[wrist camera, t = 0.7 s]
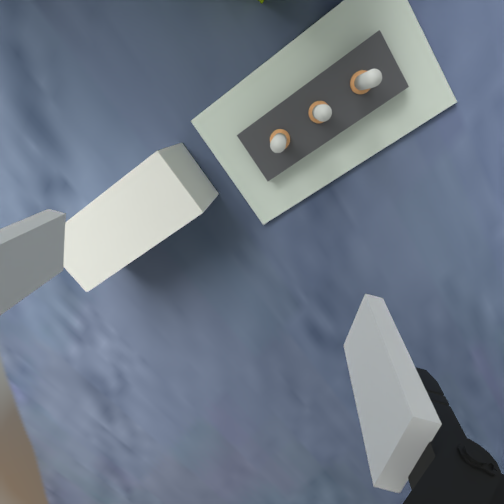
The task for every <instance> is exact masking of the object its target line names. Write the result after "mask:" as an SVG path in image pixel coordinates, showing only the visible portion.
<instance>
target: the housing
mask: <svg viewBox="0 0 504 504" xmlns="http://www.w3.org/2000/svg"><path fill="white" fill-rule="evenodd" d="M218 195H219V193H218V192H217V190H216V189H215V188H214V186H213V185H212V183H211V182H210V181H209V179H208V178H207V177H206V175H205V174H204V172H203V171H202V170H201V168H200V167H199V165H198V164H197V163H196V161H195V160H194V158H193V157H192V156H191V154H190V153H189V151H188V150H187V149H186V147H185V146H184V145H183V143H179V144H176V145H173V146H170V147H167V148H164V149H161V150H158V151H156V152H155V153H154V154H152V155H151V156H150V157H148V158H147V159H146V160H145V161H143V162H142V163H141V164H139V165H138V166H137V167H136V168H134V169H133V170H132V171H131V172H129V173H128V174H127V175H125V176H124V177H123V178H122V179H120V180H119V181H118V182H117V183H115V184H114V185H113V186H111V187H110V188H109V189H108V190H106V191H105V192H104V193H103V194H101V195H100V196H99V197H97V198H96V199H95V200H94V201H92V202H91V203H90V204H88V205H87V206H86V207H85V208H83V209H82V210H81V211H80V212H78V213H77V214H76V215H74V216H73V217H72V218H71V219H69V220H68V221H67V222H66V223H65V240H64V262H63V267H64V268H65V269H66V270H67V271H68V272H69V273H70V274H71V275H72V277H73V278H74V279H75V280H76V281H77V282H78V283H79V284H80V285H81V287H82V288H83V289H84V290H85V291H86V292H88V291H90V290H91V289H93V288H94V287H96V286H97V285H98V284H100V283H101V282H103V281H104V280H106V279H107V278H109V277H110V276H112V275H113V274H114V273H116V272H117V271H119V270H120V269H122V268H123V267H125V266H126V265H128V264H129V263H131V262H132V261H133V260H135V259H136V258H138V257H139V256H141V255H142V254H144V253H145V252H147V251H148V250H150V249H151V248H152V247H154V246H155V245H157V244H158V243H160V242H161V241H163V240H164V239H166V238H167V237H169V236H170V235H171V234H173V233H174V232H176V231H177V230H179V229H180V228H182V227H183V226H185V225H186V224H188V223H189V222H190V221H192V220H193V219H195V218H196V217H198V216H199V215H201V214H202V213H203V212H204V211H205V210H206V209H207V208H208V207H209V205H210V204H211V203H212V202H213V201H214V199H215V198H216V197H217V196H218Z"/></svg>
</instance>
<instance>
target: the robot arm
mask: <svg viewBox="0 0 504 504" xmlns="http://www.w3.org/2000/svg"><path fill="white" fill-rule="evenodd" d="M65 219H66V213H62V212H58V211H54V210H51V209H47V210H44V211H42V212H40V213H37V214H35V215H33V216H30V217H28V218H25V219H23V220H21V221H18V222H16V223H14V224H11V225H9V226H7V227H4V228H2V229H0V315H2V314H3V313H4V312H6V311H7V310H9V309H10V308H11V307H13V306H14V305H16V304H17V303H18V302H20V301H21V300H22V299H24V298H25V297H27V296H28V295H29V294H31V293H32V292H34V291H35V290H36V289H38V288H39V287H41V286H42V285H43V284H45V283H46V282H48V281H49V280H50V279H52V278H53V277H55V276H56V275H57V274H59V273H60V272H62V271H63V262H64V240H65ZM344 350H345V355H346V359H347V364H348V369H349V373H350V378H351V383H352V388H353V392H354V397H355V402H356V406H357V411H358V416H359V420H360V425H361V430H362V434H363V439H364V444H365V448H366V453H367V458H368V462H369V467H370V472H371V476H372V481H373V486H374V487H378V488H381V489H385V490H389V491H392V492H396V493H400V492H401V491H402V489H403V487H404V486H405V484H406V482H407V481H408V479H409V483H410V486H411V489H412V491H411V493H410V494H409V495H408V497H407V498H406V500H405V501H404V503H403V504H504V475H503V474H502V473H501V471H500V469H499V466H498V464H497V462H496V461H495V460H494V459H493V457H492V456H491V455H490V454H489V453H488V452H487V451H486V450H485V449H484V448H482V447H481V446H480V445H478V444H477V443H475V442H473V441H472V440H470V439H467V437H466V435H465V434H464V432H463V430H462V428H461V426H460V424H459V422H458V420H457V418H456V416H455V415H454V413H453V411H452V409H451V407H450V406H449V403H448V401H447V399H446V397H445V396H443V395H444V394H443V392H442V390H441V388H440V386H439V384H438V382H437V381H436V380H435V379H434V378H433V377H432V376H431V375H430V374H429V373H428V372H427V371H426V370H424V369H420V368H416V367H415V366H414V364H413V362H412V359H411V357H410V355H409V353H408V351H407V349H406V347H405V345H404V342H403V340H402V338H401V336H400V334H399V332H398V330H397V328H396V325H395V323H394V321H393V319H392V317H391V315H390V313H389V311H388V308H387V306H386V304H385V302H384V300H383V298H380V297H376V296H373V295H369V294H365V295H364V298H363V300H362V302H361V305H360V307H359V310H358V312H357V314H356V317H355V319H354V322H353V324H352V326H351V329H350V331H349V334H348V336H347V338H346V341H345V343H344Z"/></svg>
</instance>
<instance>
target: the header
mask: <svg viewBox="0 0 504 504" xmlns="http://www.w3.org/2000/svg"><path fill="white" fill-rule="evenodd" d="M456 102H457V101H456V99H455V97H454V95H453V92H452V90H451V88H450V86H449V84H448V82H447V80H446V78H445V76H444V74H443V72H442V70H441V68H440V66H439V64H438V62H437V60H436V58H435V56H434V53H433V51H432V49H431V47H430V45H429V43H428V41H427V39H426V37H425V35H424V33H423V31H422V29H421V27H420V25H419V23H418V21H417V19H416V17H415V14H414V12H413V10H412V8H411V6H410V4H409V2H408V0H344V1H342V2H341V3H340V4H339V5H337V6H336V7H335V8H334V9H332V10H331V11H330V12H328V13H327V14H326V15H325V16H323V17H322V18H321V19H320V20H318V21H317V22H316V23H314V24H313V25H312V26H311V27H309V28H308V29H307V30H306V31H304V32H303V33H302V34H301V35H299V36H298V37H297V38H295V39H294V40H293V41H292V42H290V43H289V44H288V45H287V46H285V47H284V48H283V49H281V50H280V51H279V52H278V53H276V54H275V55H274V56H273V57H271V58H270V59H269V60H268V61H266V62H265V63H264V64H262V65H261V66H260V67H259V68H257V69H256V70H255V71H254V72H252V73H251V74H250V75H248V76H247V77H246V78H245V79H243V80H242V81H241V82H240V83H238V84H237V85H236V86H235V87H233V88H232V89H231V90H229V91H228V92H227V93H226V94H224V95H223V96H222V97H221V98H219V99H218V100H217V101H215V102H214V103H213V104H212V105H210V106H209V107H208V108H207V109H205V110H204V111H203V112H202V113H200V114H199V115H198V116H196V117H195V118H194V119H193V120H191V122H192V124H193V125H194V127H195V128H196V129H197V131H198V132H199V134H200V135H201V137H202V138H203V139H204V141H205V142H206V144H207V145H208V147H209V148H210V149H211V151H212V152H213V154H214V155H215V157H216V158H217V159H218V161H219V162H220V164H221V165H222V167H223V168H224V169H225V171H226V172H227V174H228V175H229V177H230V178H231V179H232V181H233V182H234V184H235V185H236V187H237V188H238V189H239V191H240V192H241V194H242V195H243V197H244V198H245V199H246V201H247V202H248V204H249V205H250V207H251V208H252V209H253V211H254V212H255V214H256V215H257V217H258V218H259V219H260V221H261V222H262V224H263V225H264V224H265V223H267V222H269V221H270V220H272V219H273V218H275V217H277V216H278V215H280V214H281V213H283V212H284V211H286V210H288V209H289V208H291V207H292V206H294V205H295V204H297V203H299V202H300V201H302V200H303V199H305V198H307V197H308V196H310V195H311V194H313V193H314V192H316V191H318V190H319V189H321V188H322V187H324V186H325V185H327V184H329V183H330V182H332V181H333V180H335V179H336V178H338V177H340V176H341V175H343V174H344V173H346V172H348V171H349V170H351V169H352V168H354V167H355V166H357V165H359V164H360V163H362V162H363V161H365V160H366V159H368V158H370V157H371V156H373V155H374V154H376V153H377V152H379V151H381V150H382V149H384V148H385V147H387V146H389V145H390V144H392V143H393V142H395V141H396V140H398V139H400V138H401V137H403V136H404V135H406V134H407V133H409V132H411V131H412V130H414V129H415V128H417V127H418V126H420V125H422V124H423V123H425V122H426V121H428V120H430V119H431V118H433V117H434V116H436V115H437V114H439V113H441V112H442V111H444V110H445V109H447V108H448V107H450V106H452V105H453V104H455V103H456Z"/></svg>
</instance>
